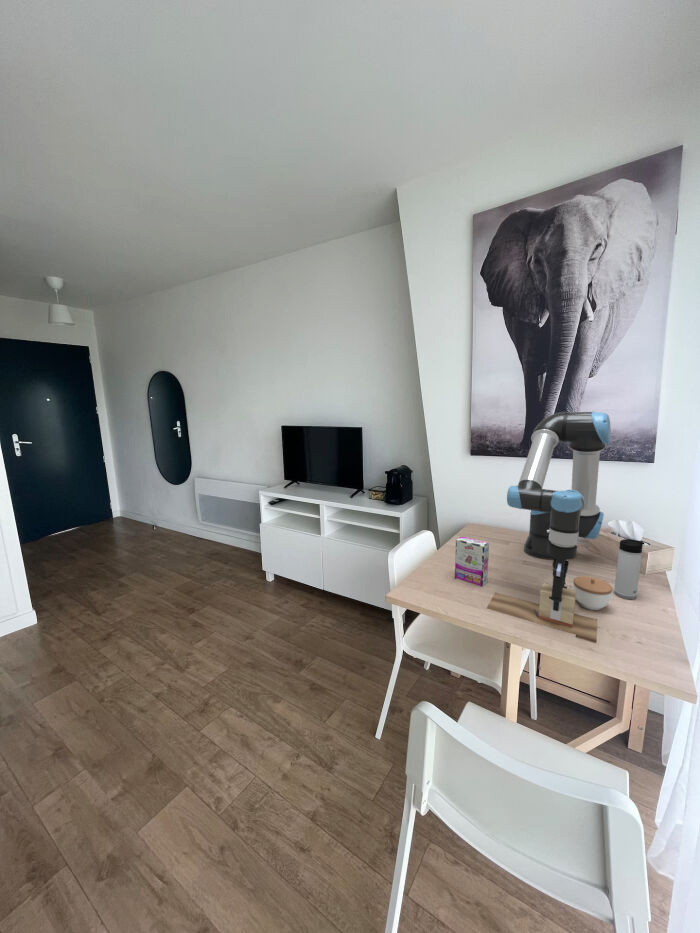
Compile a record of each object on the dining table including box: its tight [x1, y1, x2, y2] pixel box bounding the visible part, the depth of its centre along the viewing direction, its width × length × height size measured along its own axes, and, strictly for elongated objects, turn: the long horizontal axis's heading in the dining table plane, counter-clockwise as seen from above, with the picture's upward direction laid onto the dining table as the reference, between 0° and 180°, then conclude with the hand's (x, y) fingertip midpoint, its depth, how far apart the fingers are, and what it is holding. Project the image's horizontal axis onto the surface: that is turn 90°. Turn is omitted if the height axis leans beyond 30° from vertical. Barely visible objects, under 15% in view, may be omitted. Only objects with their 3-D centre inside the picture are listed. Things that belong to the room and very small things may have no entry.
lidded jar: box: [572, 575, 613, 611], centre depth 120 cm, size 11×11×9 cm
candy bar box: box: [454, 536, 490, 587], centre depth 137 cm, size 11×5×16 cm, turn 47°
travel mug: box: [613, 538, 645, 600], centre depth 125 cm, size 6×7×20 cm
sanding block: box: [538, 582, 576, 627], centre depth 112 cm, size 6×9×9 cm, turn 55°
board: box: [486, 592, 598, 644], centre depth 115 cm, size 12×30×1 cm, turn 55°
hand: (556, 613), depth 112 cm, fingers closed on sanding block, 6 cm apart
